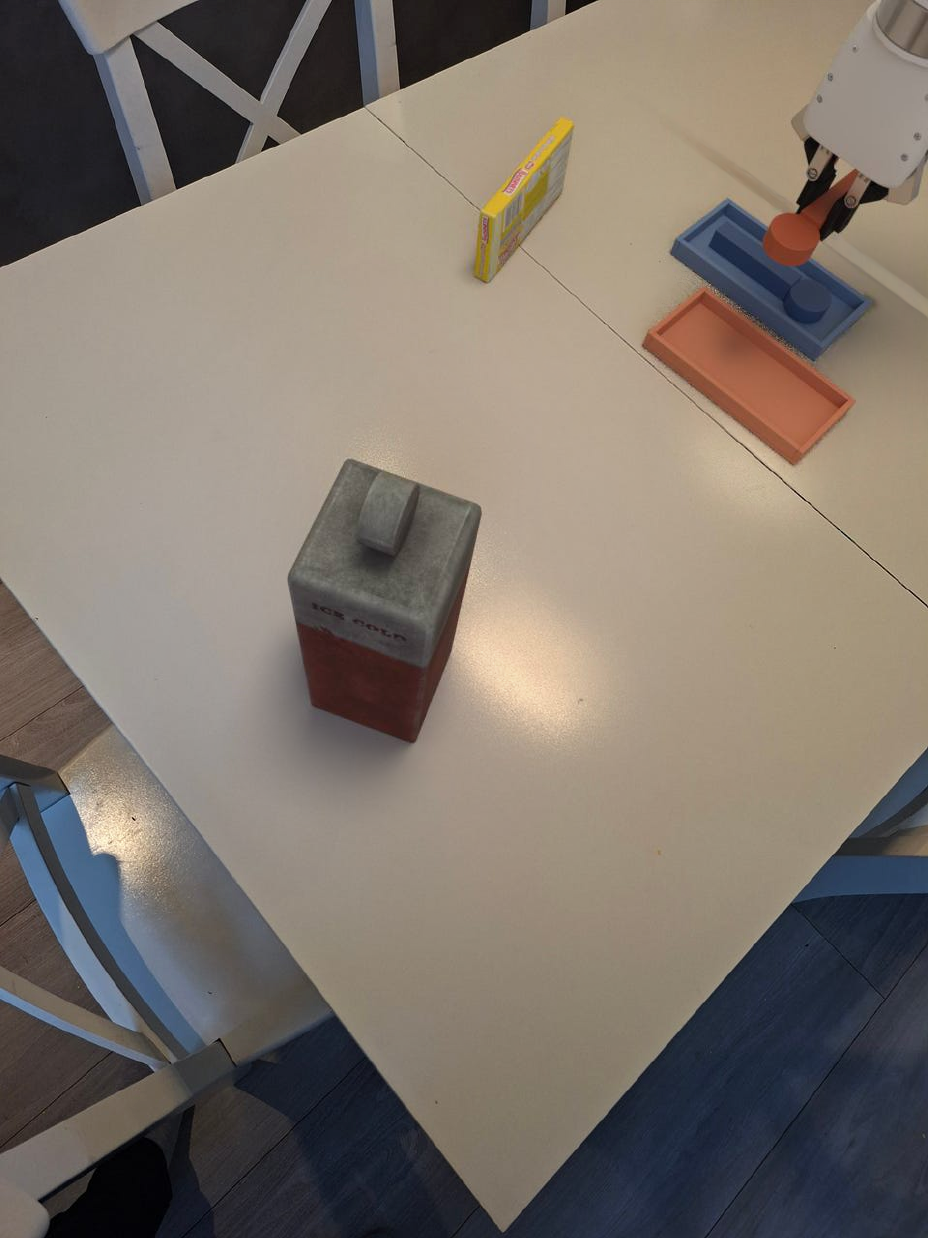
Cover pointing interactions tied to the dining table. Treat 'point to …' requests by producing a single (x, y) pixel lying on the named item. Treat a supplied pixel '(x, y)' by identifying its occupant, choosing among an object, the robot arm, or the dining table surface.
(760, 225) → the blue tray
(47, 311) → the dining table surface
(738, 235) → the blue spoon
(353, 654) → the red grey lidded canister
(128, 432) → the dining table surface
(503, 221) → the candy box
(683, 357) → the terracotta tray
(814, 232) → the terracotta spoon
